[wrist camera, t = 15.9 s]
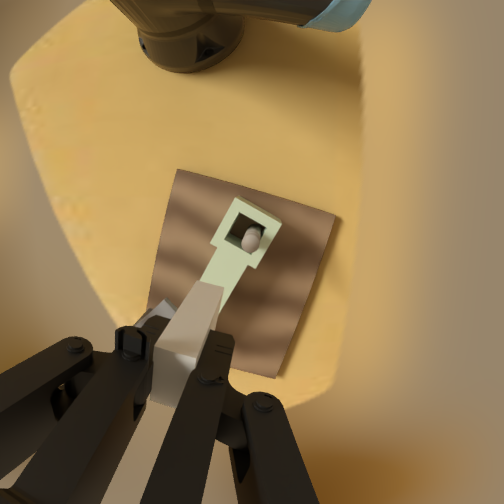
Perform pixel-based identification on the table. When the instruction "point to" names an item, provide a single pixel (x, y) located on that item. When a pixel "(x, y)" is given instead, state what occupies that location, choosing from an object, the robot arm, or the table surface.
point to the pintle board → (252, 280)
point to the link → (237, 246)
